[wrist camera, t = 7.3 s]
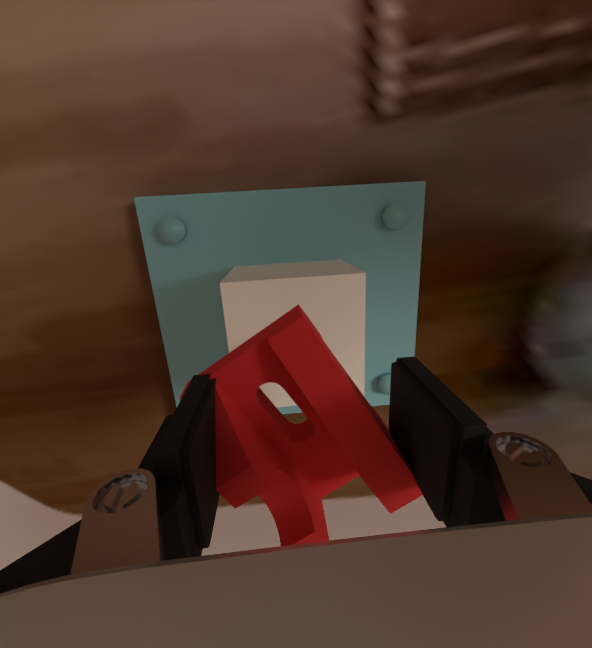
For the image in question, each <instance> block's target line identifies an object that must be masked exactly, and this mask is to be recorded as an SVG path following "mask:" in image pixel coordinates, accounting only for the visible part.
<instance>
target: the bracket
mask: <svg viewBox="0 0 592 648" xmlns="http://www.w3.org/2000/svg"><path fill="white" fill-rule="evenodd" d="M202 374H210V376H209V379H211V380H212V379H213V378H216V385H215V419H216V490H217V492H218V493H219V494H221V495H222V496H223V497H224V498H225V499H226V500H227V501H228V502H229V503H230V504H231V505H232V506H233V507H234V508H237V507H239V506H240V505H242V504H243V503H245V502H247V501H248V500H250V499H251V498H253V497H255V496H256V495H258V496H260V497H261V498H262V500H263V501H264V502H265V503H266V505H267V506H268V508H269V510H270V511H271V513H272V515H273V517H274V520H275V523H276V525H277V529H278V532H279V536H280V542H281V546H288V545H297V544H305V543H314V542H323V541H329V537H328V532H327V526H326V521H325V515H324V510H323V504H322V499H321V498H322V497H324V496H326V495H327V494H329V493H331V492H332V491H334V490H336V489H337V488H339V487H341V486H342V485H344V484H345V483H347V482H349V481H350V480H352V479H354V478H355V477H357V476H359V475H360V476H361V478H362V479H363V481H364V482H365V483H366V484H367V486H368V487H369V488H370V489H371V490H372V492H373V493H374V494H375V495H376V497H377V498H378V499H379V500H380V501H381V502H382V504H383V505H384V506H385V507H386V509H387V510H388V511H389V512H390V513H392V512H394V511H396V510H397V509H399V508H401V507H403V506H405V505H406V504H408V503H410V502H411V501H413V500H415V499H417V498H418V497H420V496H422V495H423V494H422V492H421V490H420V489H419V487H418V485H417V483H416V481H415V480H414V478H415V477H414V475H413V473H412V472H411V470H410V468H409V466H408V465H407V463H406V461H405V459H404V457H403V456H402V454H401V452H400V450H399V449H398V447H397V445H396V443H395V441H394V440H393V438H392V436H391V434H390V432H389V428H388V427H387V425H386V424H385V422H384V421H383V420H382V418H381V417H380V416H379V414H378V413H377V411H376V410H375V409H374V408H372V407H371V405H370V404H369V402H368V401H367V400H366V398H365V397H364V396H363V394H362V393H361V391H360V390H359V389H358V387H357V386H356V385H355V383H354V382H353V380H352V379H351V378H350V376H349V375H348V374H347V372H346V371H345V369H344V368H343V367H342V365H341V364H340V363H339V361H338V360H337V358H336V357H335V356H334V354H333V353H332V352H331V350H330V349H329V347H328V346H327V345H326V343H325V342H324V341H323V339H322V337H321V334H320V333H319V332H318V330H317V329H316V327H315V326H314V325H313V323H312V322H311V321H310V319H309V318H308V316H307V315H306V314H305V312H304V311H303V310H302V308H301V307H300V305H299V304H298V305H297V306H295V307H294V308H292V309H291V310H290V311H288V312H287V313H285V314H284V315H282V316H281V317H280V318H278V319H277V320H275V321H274V322H272V323H271V324H270V325H268V326H267V327H265V328H264V329H263V330H261V331H260V332H258V333H257V334H255V335H254V336H253V337H251V338H250V339H248V340H247V341H245V342H244V343H243V344H241V345H240V346H238V347H237V348H235V349H234V350H233V351H231V352H230V353H228V354H227V355H225V356H224V357H223V358H221V359H220V360H218V361H217V362H215V363H214V364H213V365H211V366H210V367H208V368H207V369H205V370H204V371H203V372H201V373H200V374H198V375H202ZM190 381H191V380H190ZM190 381H188V382H187V384H186V386H185V388H184V390H183V392H182V394H181V396H180V401H181V399H182V397H183V395H184V393H185V391H186V389H187V387H188V385H189V383H190ZM270 382H272V383H276V384H279V385H280V386H281V387H282V388H283V389H284V390H285V391H286V392H287V394H288V395H289V396H290V397H291V399H292V400H293V401H294V402H295V403H296V405H297V406H298V407H299V408H300V409H301V411H302V412H303V413H304V414H305V415H306V417H307V418H308V419H307V420H306V421H305V422H303V423H300V424H293V423H291V422H289V421H288V420H287V419H286V418H285V417H284V416H283V415H282V413H281V412H280V411H279V410H278V409H277V408H276V406H275V405H274V404H273V403H272V402H271V401H270V399H269V398H268V397H267V396H266V395H265V394H264V392H263V391H262V390H261V389H260V388H259V387H260V386H261V385H263V384H265V383H270Z"/></svg>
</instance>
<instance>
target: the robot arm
mask: <svg viewBox="0 0 592 648" xmlns="http://www.w3.org/2000/svg"><path fill="white" fill-rule="evenodd" d="M209 376H210V374H202V375H194V376H193V377H192V379H191V381H190V383H189V385H188V387H187V389H186V391H185V393H184V395H183V397H182V399H181V401H180V402H179V404H178V406H177V408H176V410H175V412H174V414H173V415H168V416H167V417H166V418H165V420H164V421H163V423H162V425H161V427H160V429H159V431H158V432H157V434H156V436H155V438H154V440H153V442H152V443H151V445H150V447H149V449H148V451H147V452H146V454H145V456H144V458H143V460H142V462H141V463H140V465H139V467H138V469H129V470H125V471H122V472H119V473H117V474H114V475H112V476H111V477H109V478H107V479H106V480H104V481H103V482H101V483H100V484H99V485H98V486H97V487H96V488H94V490H93V491H92V492H91V493H90V495H89V496H88V498H87V500H86V503H85V505H84V510H83V515H82V519H81V520H80V521H78V522H77V523H75V524H74V525H72V526H70V527H69V528H67V529H66V530H64V531H62V532H61V533H59V534H58V535H56V536H54V537H53V538H51V539H50V540H48V541H47V542H45V543H43V544H42V545H40V546H39V547H37V548H35V549H34V550H32V551H30V552H29V553H27V554H26V555H24V556H22V557H21V558H19V559H18V560H16V561H15V562H13V563H11V564H10V565H8V566H7V567H5V568H3V569H2V570H0V648H592V480H590V479H587V478H584V477H582V476H579V475H576V474H573V473H570V472H569V471H568V469H567V468H566V466H565V465H564V463H563V462H562V460H561V459H560V457H559V456H558V454H557V453H556V452H555V451H554V450H553V449H552V448H550V447H549V446H548V445H546V444H545V443H543V442H541V441H539V440H537V439H535V438H533V437H530V436H527V435H524V434H520V433H515V432H500V433H496V434H493V433H492V432H491V431H490V430H489V429H488V428H487V427H486V425H487V424H486V423H485V422H484V421H483V420H482V419H481V418H480V417H479V416H478V415H477V414H475V413H474V412H473V411H472V410H471V409H470V408H469V407H468V406H467V405H466V404H465V403H464V402H463V401H462V400H460V399H459V398H458V397H457V396H456V395H455V394H454V393H453V392H452V391H451V390H450V389H449V388H448V387H447V386H445V385H444V384H443V383H442V382H441V381H440V380H439V379H438V378H437V377H436V376H435V375H434V374H433V373H432V372H430V371H429V370H428V369H427V368H426V367H425V366H424V365H423V364H422V363H421V362H420V361H419V360H418V359H417V358H415V357H414V356H413V357H401V358H397V360H396V362H393V363H392V365H391V382H390V407H389V432H390V434H391V436H392V438H393V440H394V441H395V443H396V445H397V447H398V449H399V450H400V452H401V454H402V456H403V457H404V459H405V461H406V463H407V465H408V466H409V468H410V470H411V472H412V473H413V475H414V477H415V478H414V480H415V481H416V483H417V485H418V487H419V489H420V490H421V492H422V494H423V496H424V497H425V499H426V501H427V503H428V505H429V507H430V508H431V510H432V512H433V514H434V516H435V517H436V519H437V520H438V521H443V522H444V524H445V525H446V528H437V529H429V530H420V531H410V532H402V533H393V534H384V535H375V536H366V537H357V538H349V539H341V540H331V541H323V542H314V543H305V544H297V545H288V546H280V547H272V548H264V549H256V550H248V551H239V552H231V553H222V554H214V555H206V556H201V554H202V549H203V548H208V547H209V545H210V541H211V536H212V531H213V525H214V520H215V515H216V510H217V505H218V500H219V495H220V494H219V493H218V492H217V490H216V419H215V385H216V378H213V379H212V380H211V379H209Z"/></svg>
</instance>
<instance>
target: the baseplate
mask: <svg viewBox="0 0 592 648" xmlns="http://www.w3.org/2000/svg"><path fill="white" fill-rule="evenodd" d="M425 188H426V181H415V182H397V183H379V184H361V185H343V186H325V187H307V188H289V189H272V190H254V191H236V192H218V193H200V194H182V195H164V196H146V197H134V201H135V206H136V211H137V216H138V221H139V226H140V231H141V236H142V241H143V245H144V250H145V255H146V260H147V265H148V270H149V275H150V280H151V285H152V290H153V294H154V299H155V304H156V309H157V314H158V319H159V324H160V329H161V334H162V339H163V343H164V348H165V353H166V358H167V363H168V368H169V373H170V378H171V383H172V387H173V392H174V397H175V402H176V407H177V406H178V404H179V402H180V396H181V394H182V392H183V390H184V388H185V386H186V384H187V382H188V381H190V380H191V379H192V377H193V376H194V375H198V374H200V373H201V372H203V371H204V370H205V369H207V368H208V367H210V366H211V365H213V364H214V363H215V362H217V361H218V360H220V359H221V358H223V357H224V356H225V355H227V354H228V353H229V349H228V341H227V334H226V327H225V319H224V312H223V304H222V297H221V290H220V282H221V281H222V280H223V279H224V278H225V277H226V275H227V274H228V273H229V272H230V271H231V270H232V269H233V268H234V266H247V265H262V264H277V263H292V262H307V261H322V260H336V259H341V260H343V261H345V262H346V263H348V264H350V265H352V266H354V267H356V268H358V269H359V270H361V271H363V272H365V273H366V299H365V385H364V397H365V398H366V400H367V401H368V402H369V404H370V405H371V406H378V405H389V404H390V382H391V365H392V363H393V362H396V360H397V358H401V357H413V356H415V341H416V326H417V310H418V295H419V280H420V265H421V249H422V234H423V219H424V203H425ZM276 408H277V409H278V410H279V411H280V412H281V413H282V414H290V413H301V412H302V411H301V409H300V408H299V407H298V406H287V407H276Z"/></svg>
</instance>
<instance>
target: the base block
mask: <svg viewBox="0 0 592 648" xmlns="http://www.w3.org/2000/svg"><path fill="white" fill-rule="evenodd" d="M220 290H221V297H222V304H223V312H224V319H225V327H226V334H227V341H228V349H229V353H230V352H231V351H233V350H234V349H235V348H237V347H238V346H240V345H241V344H243V343H244V342H245V341H247V340H248V339H250V338H251V337H253V336H254V335H255V334H257V333H258V332H260V331H261V330H263V329H264V328H265V327H267V326H268V325H270V324H271V323H272V322H274V321H275V320H277V319H278V318H280V317H281V316H282V315H284V314H285V313H287V312H288V311H290V310H291V309H292V308H294V307H295V306H297V305H298V304H299V305H300V307H301V308H302V310H303V311H304V312H305V314H306V315H307V316H308V318H309V319H310V321H311V322H312V323H313V325H314V326H315V327H316V329H317V330H318V332H319V333H320V334H321V337H322V339H323V341H324V342H325V343H326V345H327V346H328V347H329V349H330V350H331V352H332V353H333V354H334V356H335V357H336V358H337V360H338V361H339V363H340V364H341V365H342V367H343V368H344V369H345V371H346V372H347V374H348V375H349V376H350V378H351V379H352V380H353V382H354V383H355V385H356V386H357V387H358V389H359V390H360V391H361V393H362V394H363V396H364V385H365V299H366V273H365V272H363V271H361V270H359V269H358V268H356V267H354V266H352V265H350V264H348V263H346V262H345V261H343V260H341V259H336V260H322V261H307V262H292V263H277V264H262V265H247V266H234V268H233V269H232V270H231V271H230V272H229V273H228V274H227V275H226V277H225V278H224V279H223V280H222V281H221V282H220ZM259 388H260V389H261V390H262V391H263V392H264V394H265V395H266V396H267V397H268V398H269V399H270V401H271V402H272V403H273V404H274V405H275V406H276V407H287V406H297V405H296V403H295V402H294V401H293V400H292V399H291V397H290V396H289V395H288V394H287V392H286V391H285V390H284V389H283V388H282V387H281V386H280V385H279V384H276V383H272V382H270V383H265V384H263V385H261V386H260V387H259Z"/></svg>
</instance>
